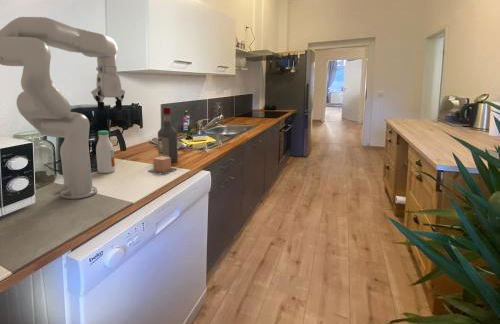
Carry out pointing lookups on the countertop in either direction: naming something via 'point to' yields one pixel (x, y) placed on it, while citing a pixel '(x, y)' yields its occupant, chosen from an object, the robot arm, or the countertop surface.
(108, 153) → the milk bottle
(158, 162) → the cube
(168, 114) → the liquor
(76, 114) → the robot arm
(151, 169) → the coaster
